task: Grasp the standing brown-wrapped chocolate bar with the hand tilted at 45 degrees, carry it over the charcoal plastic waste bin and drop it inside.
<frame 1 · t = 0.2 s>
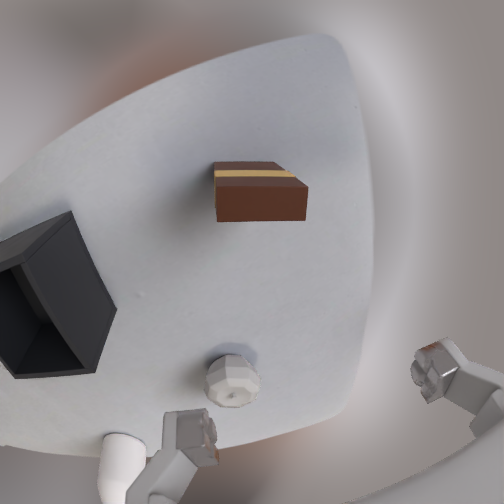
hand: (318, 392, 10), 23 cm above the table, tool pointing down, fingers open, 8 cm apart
wine bottle: (125, 441, 48), on the table
apple: (229, 362, 40), on the table
chocolate bar: (244, 173, 29), on the table
waste bin: (52, 276, 30), on the table
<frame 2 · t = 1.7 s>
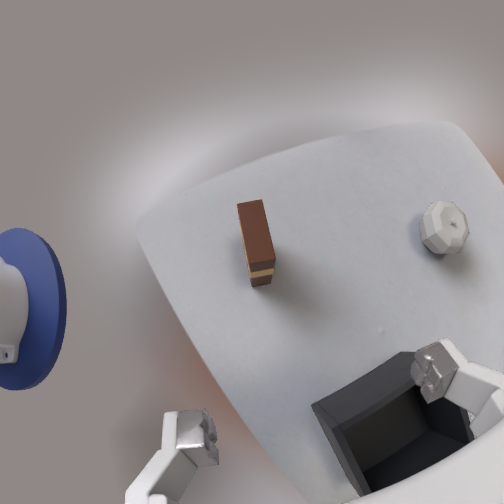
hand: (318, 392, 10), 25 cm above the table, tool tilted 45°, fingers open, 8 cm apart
apple: (430, 238, 38), on the table
chocolate bar: (256, 262, 37), on the table
waste bin: (377, 420, 31), on the table
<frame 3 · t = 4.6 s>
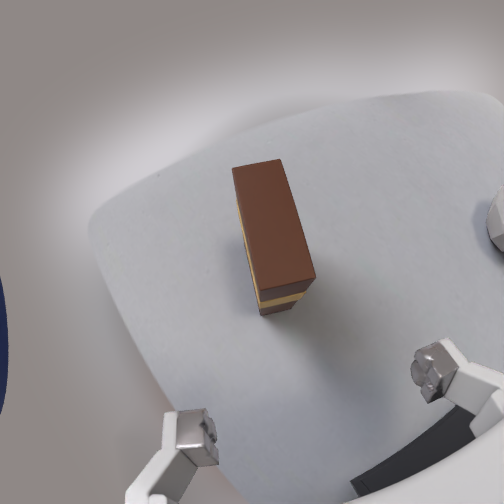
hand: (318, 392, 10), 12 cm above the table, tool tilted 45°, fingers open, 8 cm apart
apple: (496, 233, 24), on the table
chocolate bar: (267, 275, 23), on the table
waste bin: (434, 483, 16), on the table
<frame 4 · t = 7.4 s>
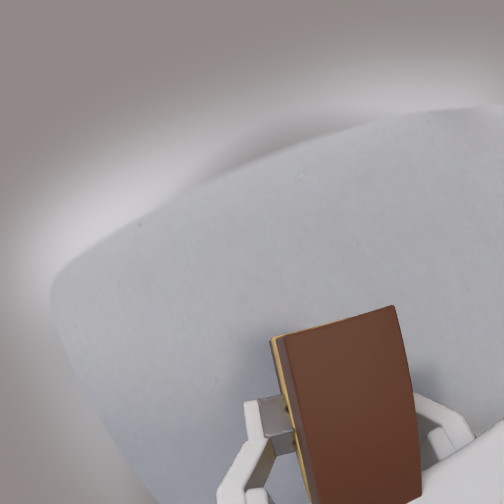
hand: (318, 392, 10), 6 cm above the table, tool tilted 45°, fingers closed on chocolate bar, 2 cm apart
chocolate bar: (301, 386, 15), on the table, touching gripper
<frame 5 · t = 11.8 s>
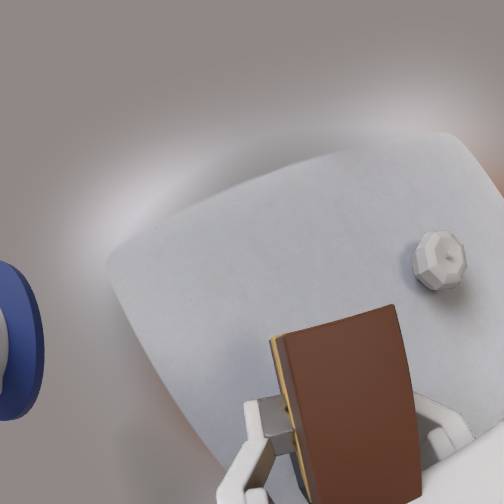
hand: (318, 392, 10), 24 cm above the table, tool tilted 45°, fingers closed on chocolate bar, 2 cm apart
apple: (424, 269, 35), on the table
chocolate bar: (301, 386, 15), point 18 cm above the table, touching gripper
when the fingers open (15 cm above the table, at t = 16.3 s): chocolate bar drops 9 cm, resting on waste bin.
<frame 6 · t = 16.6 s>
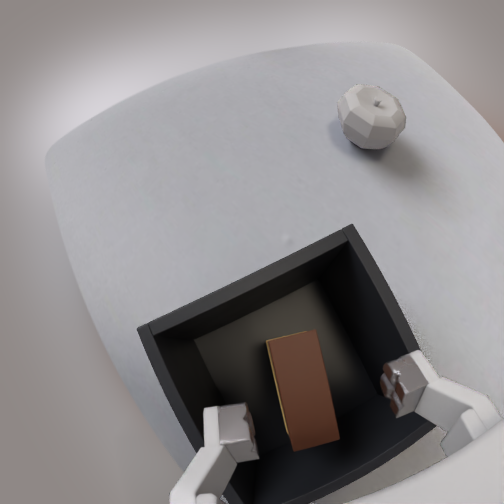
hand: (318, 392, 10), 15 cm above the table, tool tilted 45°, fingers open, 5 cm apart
apple: (362, 137, 31), on the table
chocolate bar: (287, 372, 23), point 1 cm above the table, touching waste bin
waste bin: (287, 371, 24), on the table
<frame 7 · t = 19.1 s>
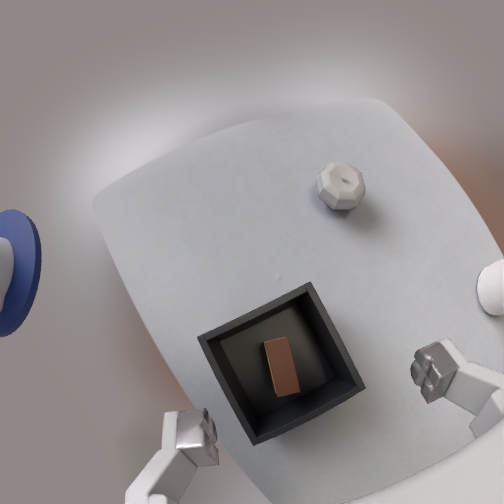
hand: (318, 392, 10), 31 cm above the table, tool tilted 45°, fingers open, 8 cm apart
wine bottle: (490, 291, 40), on the table
apple: (334, 198, 47), on the table
chocolate bar: (277, 361, 38), point 1 cm above the table, touching waste bin
waste bin: (277, 360, 39), on the table
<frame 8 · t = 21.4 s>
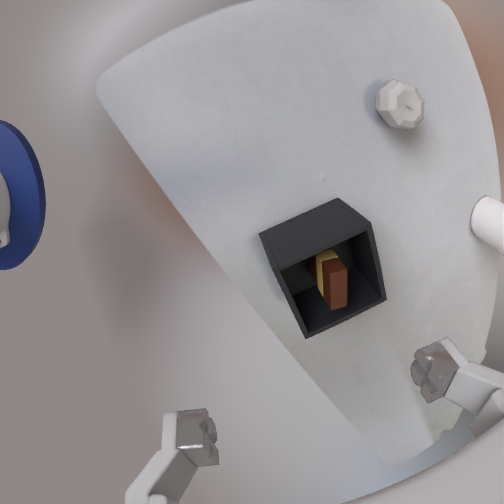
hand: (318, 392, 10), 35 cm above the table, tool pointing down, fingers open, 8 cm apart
wine bottle: (481, 215, 49), on the table
apple: (385, 104, 38), on the table
chocolate bar: (313, 252, 47), point 1 cm above the table, touching waste bin
waste bin: (313, 250, 47), on the table
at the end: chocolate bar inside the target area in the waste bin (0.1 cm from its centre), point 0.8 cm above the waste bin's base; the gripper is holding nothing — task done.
